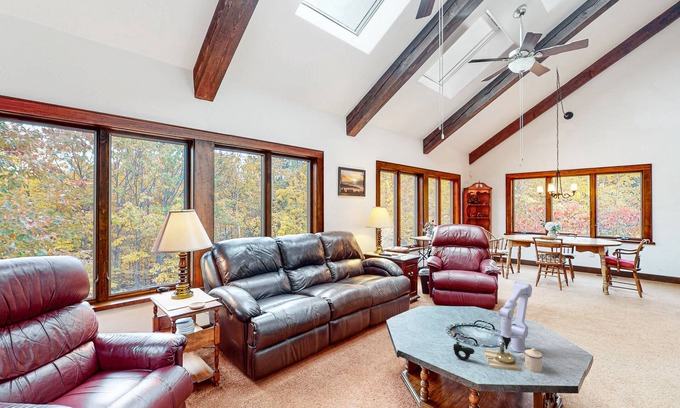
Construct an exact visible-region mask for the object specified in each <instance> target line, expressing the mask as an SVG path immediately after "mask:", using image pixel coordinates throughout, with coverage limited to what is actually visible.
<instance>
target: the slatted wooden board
mask: <svg viewBox="0 0 680 408" xmlns="http://www.w3.org/2000/svg"><path fill="white" fill-rule="evenodd" d="M498 351H499V350H491V349H483V353H484V356H485V358H486V361H487V363H488V365H489V368H490V369H491V368H493V369H502V370H508V371H516V372H517V371H518V372H521V367H520V365H519V364H518V362H517V360H516V359H515V358H514V362H513V363H511V364H507V363H503V362H500V361H499V360H498V359H497V353H498ZM505 352H506V353H507V352H509V353H510V354H511V355H513V353H511V352H510V351H505Z"/></svg>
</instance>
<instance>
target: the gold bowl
mask: <svg viewBox="0 0 680 408" xmlns="http://www.w3.org/2000/svg"><path fill="white" fill-rule="evenodd" d="M497 351H498V353H497V359H498V360H499V361H500V362H503V363H507V364H511V363H513V362H514V359H515V358H514V355H513V354H512V353H511V354H512V355H511V354H510V353H509V352H510V351H505V343H504V341H499V350H497ZM506 352H507V353H506Z"/></svg>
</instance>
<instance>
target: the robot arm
mask: <svg viewBox="0 0 680 408" xmlns="http://www.w3.org/2000/svg"><path fill="white" fill-rule="evenodd" d="M512 290H513V291H512V294H511V296H510V298H507V300H506V301H505V304H504V305H503V307H501V308H500V309H499V312H498V314H499V318H500V331H496V332H495V331H494V332H492V335H493V337H501V338H502V340H503V342H504V349H505V350H508V347H509V346H510V348H511V350H512V352H515V353H524V352H525V350H526V338H528V336H529V326H528V325H527V324H526V323H525V320H526V313H527V307H528V306H527V305H528V301H529V298H531V297H532V293H533V287H532V285H531V284H529V283H524V282H520V281H514V282H513V284H512ZM517 301H518V303H517ZM516 307H517V310H516V317H515V320H513V321H512V319H513V317H514V313H515V309H516ZM524 354H525V353H524Z"/></svg>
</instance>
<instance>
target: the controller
mask: <svg viewBox="0 0 680 408" xmlns="http://www.w3.org/2000/svg"><path fill="white" fill-rule="evenodd" d="M460 343H461V342H460V341H456V342H455V343H454V344H453V347H452V350H453V352H454V356H456V358H458V359H459V360H461V361H467V360H468V359H470V357H471V355H473V354H475V349H474V348H473V347H468V346H465V345H462V344H460ZM460 352H462V353H464V355H465V356H462V355H461V354H460Z"/></svg>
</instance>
